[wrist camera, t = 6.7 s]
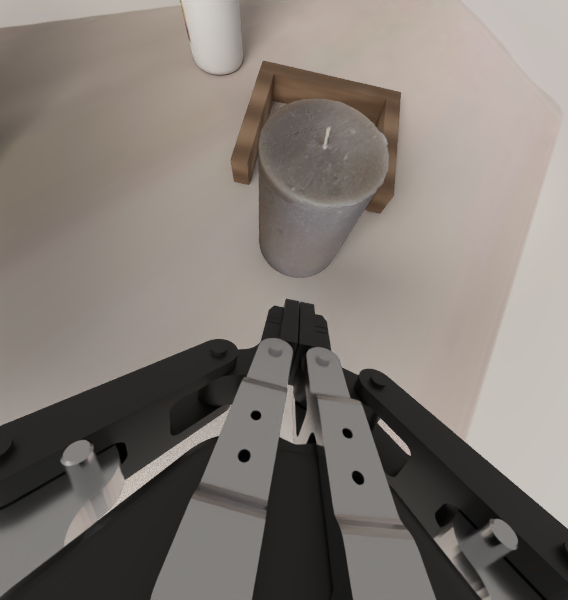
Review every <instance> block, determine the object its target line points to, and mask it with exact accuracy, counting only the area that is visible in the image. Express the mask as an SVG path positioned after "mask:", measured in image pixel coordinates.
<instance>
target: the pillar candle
mask: <svg viewBox="0 0 568 600" xmlns="http://www.w3.org/2000/svg"><path fill="white" fill-rule="evenodd" d="M387 145H388V142H387V139H386V137H385V136H384V134H383V133H382V132H380V131H379V130H378V129H377V127H376V126H375V125H374V123H373V122H371V121H370V120H369V119H368V118H367V117H366V116H365V115H363V114H362V113H361V112H359V111H358V110H356V109H354V108H352V107H350V106H348V105H346V104H345V103H342V102H339V101H333V100H329V99H302V100H299V101H293V102H292V103H289V104H287V105H285V106H283V107H281V108H279V109H278V110H276V111H275V112H274V113H273V114H272V115H271V116H270V117H269V118H268V120H267V121H266V123H265V125H264V126H263V128H262V130H261V133H260V138H259V144H258V167H259V243H260V248H261V252H262V254H263V256H264V258H265V259H266V261H267V262H268V263H269V265H270V266H271V267H272V268H274V269H275V270H276V271H278V272H280V273H282V274H284V275H287V276H291V277H302V278H303V277H309V276H312V275H315V274H317V273H319V272H321V271H322V270H323V269H325V268H326V267H327V266H328V265H329V263H330V262H331V261H332V259H333V257H334V256H335V254H336V253H337V251H338V250H339V248H340V247H341V245H342V244H343V242H344V241H345V239H346V238H347V236H348V234H349V233H350V231H351V230H352V228H353V227H354V225H355V223H356V222H357V220H358V219H359V217H360V216H361V214H362V213H363V211H364V210H365V208H366V207H367V205H368V203H369V202H370V200H371V199H372V197H373V196H374V195H375V193H376V192H377V190H378V188H379V187H380V186H381V185H382V184H383V183H384V179H385V177H386V173H387V172H388V170H389V169H388V167H389V153H388V148H387Z"/></svg>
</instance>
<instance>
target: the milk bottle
mask: <svg viewBox="0 0 568 600" xmlns="http://www.w3.org/2000/svg"><path fill="white" fill-rule="evenodd" d="M180 2H181V7H182V11H183V15H184V20H185V24H186V29H187V33H188V37H189V42H190V46H191V50H192V54H193V58H194V61H195V62H196V64H197V65H198V67H199V68H201V69H202V70H203V71H205V72H207V73H210V74H214V75H226V74H230V73H233V72H234V71H236V70H237V69H238V68H239V67H240V66H241V63H242V60H243V47H242V31H241V16H240V2H239V0H180Z"/></svg>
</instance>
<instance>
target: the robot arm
mask: <svg viewBox="0 0 568 600" xmlns="http://www.w3.org/2000/svg"><path fill="white" fill-rule="evenodd" d="M287 382H288V385H293V386H294V389H293V395H294V396H293V399H292V413H293V443H291V442H288V441H286V440H284V439H282V438H280V437H279V434H280V429H281V423H282V417H283V412H284V406H285V400H286V395H287V388H286V387H287ZM231 404H232V406H231V409H230V411H229V413H228V416H227V418H226V421H225V423H224V426H223V428H222V431H221V433H220V435H219V436H217V437H214V438H211V439H208V440H206V441H204V442H201V443H200V444H198V445H196V446H195V447H193V448H192V449H190V450H189V451H187V452H186V453H185V454H184V455H182V456H181V457H180V458H178V459H177V460H176V461H175V462H173V463H172V464H171V465H169V466H168V467H167V468H165V469H164V470H163V471H162V472H160V473H159V474H158V475H156V476H155V477H154V478H153V479H151V480H150V481H149V482H147V483H146V484H145V485H143V486H142V487H141V488H140V489H138V490H137V491H136V492H134V493H133V494H132V495H130V496H129V497H128V498H127V499H125V500H124V501H123V502H121V503H120V504H119V505H118V506H116V507H115V508H114V509H112V510H111V511H110V512H108V513H107V514H106V515H105V516H103V515H104V514H105V513H106V512H107V511H108V510H109V509H110V508H111V507H112V506H113V505H114V504H115V502H116V501H117V499H118V498H119V496H120V494H121V492H122V490H123V486H124V480H126V479H127V478H128V477H130V476H131V475H133V474H134V473H136V472H137V471H139V470H140V469H142V468H143V467H145V466H146V465H148V464H149V463H150V462H152V461H153V460H155V459H156V458H158V457H159V456H161V455H162V454H164V453H165V452H167V451H168V450H170V449H171V448H173V447H174V446H175V445H177V444H178V443H180V442H181V441H183V440H184V439H186V438H187V437H189V436H190V435H192V434H193V433H195V432H196V431H197V430H199V429H200V428H202V427H203V426H205V425H206V424H208V423H209V422H211V421H212V420H214V419H215V418H217V417H218V416H220V415H221V414H222V413H224V412H225V411H227V410H228V408H229V407H230V405H231ZM380 418H381V419H382V420H383V421H384V422H385V423H386V424H387V425H388V426H389V427H390V428H391V429H392V430H393V431H394V432H395V433H396V434H397V435H398V436H399V437H400V438H401V439H402V440H403V441H404V442H405V443H406V445H407V446H408V448H409V449H410V452H411V456H409V455H408V454H406V453H405V452H404V451H403V450H402V449H401V448H400V447H399V446H398V444H397V443H396V442H395V441H394V440H393V439H392V438H391V437H390V436H389V435H388V434H387V433H386V432H385V431H384V430H383V429H382V428H381V427H380V426H379V425H378V424H377V423H378V421H379V420H380ZM102 516H103V517H102ZM100 517H102V518H101V519H99V518H100ZM98 519H99V520H98ZM97 520H98V521H97ZM96 521H97V522H96ZM95 522H96V523H95ZM0 600H568V529H567V528H566V527H565V526H563V525H562V524H561V523H560V522H559V521H558V520H556V519H555V518H554V517H553V516H552V515H551V514H549V513H548V512H547V511H546V510H545V509H543V508H542V507H541V506H540V505H539V504H538V503H536V502H535V501H534V500H533V499H532V498H530V497H529V496H528V495H527V494H526V493H525V492H523V491H522V490H521V489H520V488H519V487H518V486H516V485H515V484H514V483H513V482H512V481H510V480H509V479H508V478H507V477H506V476H504V475H503V474H502V473H501V472H500V471H499V470H497V469H496V468H495V467H494V466H493V465H491V464H490V463H489V462H488V461H487V460H485V459H484V458H483V457H482V456H481V455H480V454H478V453H477V452H476V451H475V450H474V449H472V448H471V447H470V446H469V445H468V444H467V443H466V442H464V441H463V440H462V439H461V438H460V437H458V436H457V435H456V434H455V433H454V432H453V431H451V430H450V429H449V428H448V427H447V426H445V425H444V424H443V423H442V422H441V421H440V420H438V419H437V418H436V417H435V416H434V415H432V414H431V413H430V412H429V411H428V410H427V409H425V408H424V407H423V406H422V405H421V404H419V403H418V402H417V401H416V400H415V399H414V398H412V397H411V396H410V395H409V394H408V393H406V392H405V391H404V390H403V389H402V388H401V387H399V386H398V385H397V384H396V383H395V382H394V381H392V380H391V379H390V378H389V377H388V376H386V375H385V374H383V373H382V372H380V371H377V370H374V369H364V370H362V371H361V372H360V374H359V375H357V374H354V373H352V372H350V371H348V370H346V369H344V368H342V367H341V363H340V360H339V358H338V357H337V356H336V355H335V354H334V353H333V352H332V351H331V347H330V340H329V335H328V327H327V321H326V320H325V319H324V317H323V316H322V315H317V314H315V310H314V304H309V303H304V302H300V304H299V301H295V300H290V299H286V300H285V305H284V308H283V307H278V306H273V307H272V308H271V309H270V310H269V312H268V316H267V320H266V323H265V327H264V331H263V335H262V339H261V342H260V343H259V344H258V345H257V346H255V347H253V348H250V349H239V350H238V349H237V347H236V346H235V344H233V343H232V342H230V341H228V340H224V339H214V340H210V341H207V342H205V343H202V344H200V345H198V346H195V347H193V348H190V349H188V350H185V351H183V352H180V353H178V354H175V355H173V356H171V357H168V358H166V359H163V360H161V361H158V362H156V363H153V364H151V365H149V366H146V367H144V368H141V369H139V370H136V371H134V372H131V373H129V374H126V375H124V376H122V377H119V378H117V379H114V380H112V381H109V382H107V383H104V384H102V385H100V386H97V387H95V388H92V389H90V390H87V391H85V392H82V393H80V394H78V395H75V396H73V397H70V398H68V399H65V400H63V401H60V402H58V403H55V404H53V405H51V406H48V407H46V408H43V409H41V410H38V411H36V412H33V413H31V414H29V415H26V416H24V417H21V418H19V419H16V420H14V421H11V422H9V423H6V424H4V425H2V426H0Z"/></svg>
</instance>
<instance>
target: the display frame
mask: <svg viewBox="0 0 568 600" xmlns="http://www.w3.org/2000/svg"><path fill="white" fill-rule="evenodd" d="M400 98H401V92H398V91H393V90H389V89H384V88H380V87H376V86H371V85H367V84H363V83H358V82H354V81H350V80H345V79H341V78H337V77H332V76H328V75H324V74H319V73H315V72H311V71H306V70H302V69H297V68H293V67H289V66H284V65H280V64H276V63H271V62H267V61H263V62H262V65H261V68H260V71H259V74H258V77H257V80H256V83H255V86H254V89H253V93H252V96H251V99H250V102H249V105H248V108H247V111H246V114H245V117H244V120H243V123H242V126H241V129H240V132H239V135H238V138H237V142H236V145H235V148H234V151H233V154H232V157H231V165H232V171H233V177H234V182H239V183H243V184H248V185H249V183H250V179H251V176H252V172H253V169H254V165H255V162H256V158H257V155H258V144H259V138H260V133H261V130H262V128H263V126H264V125H265V123H266V121H267V120H268V117H269V113H270V110H271V106H272V103H273V101H278V102H282V103H287V104H289V103H292V102H293V101H299V100H302V99H329V100H333V101H339V102H342V103H345V104H346V105H348V106H350V107H352V108H354V109H356V110H358V111H359V112H361V113H362V114H363V115H365V116H366V117H367V118H368V119H369V120H370V121H371V122H373V123H375V126H376V127H377V129H378V130H379V131H380V132H382V133H383V134H384V136H385V137H386V139H387V142H388V145H387V148H388V153H389V167H388V169H389V170H388V172H387V173H386V177H385V179H384V183H383V184H382V185H381V186H380V187H379V188H378V190H377V192H376V193H375V195H374V196H373V197H372V199H371V200H370V202H369V203H368V205H367V207H366V210H367V211H372V212H377V213H381V212H382V210H383V209H384V208H385V206H386V205H387V204H388V202H389V201H390V200H391V198H392V197H393V196H394V184H395V169H396V155H397V141H398V126H399V112H400Z"/></svg>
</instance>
